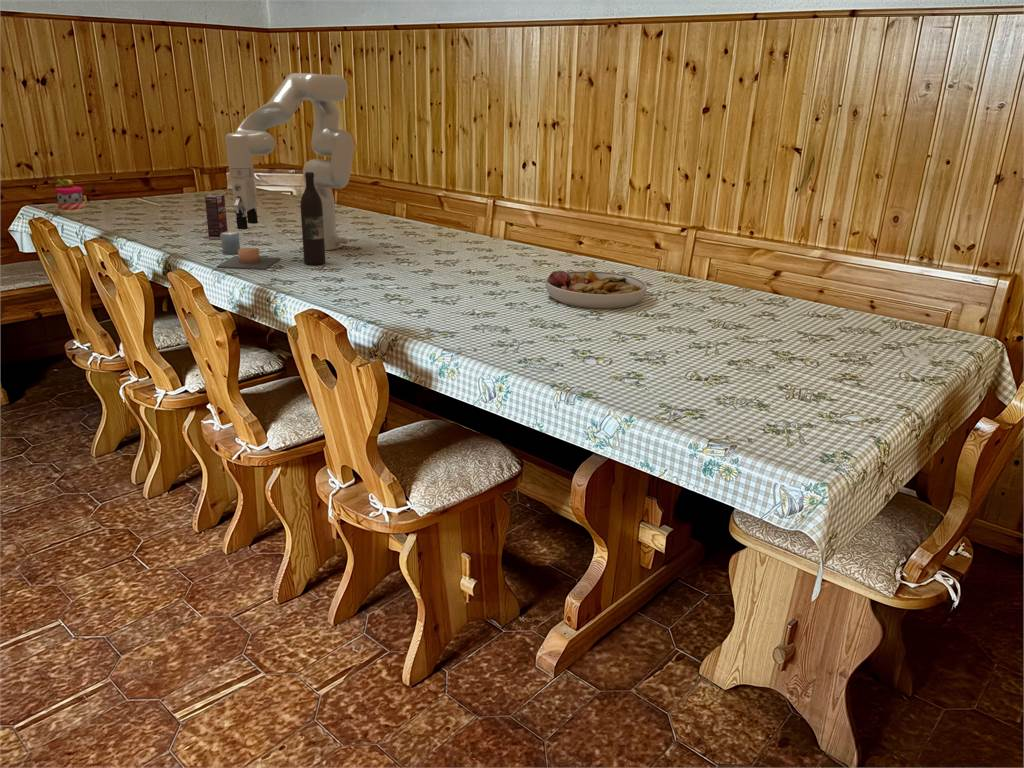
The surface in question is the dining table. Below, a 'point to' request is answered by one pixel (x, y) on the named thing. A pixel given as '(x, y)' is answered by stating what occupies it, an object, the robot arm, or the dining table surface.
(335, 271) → the dining table surface
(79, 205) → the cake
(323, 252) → the wine bottle
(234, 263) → the mat
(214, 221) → the supplement box
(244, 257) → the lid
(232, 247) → the gray cylinder
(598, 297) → the bowl
